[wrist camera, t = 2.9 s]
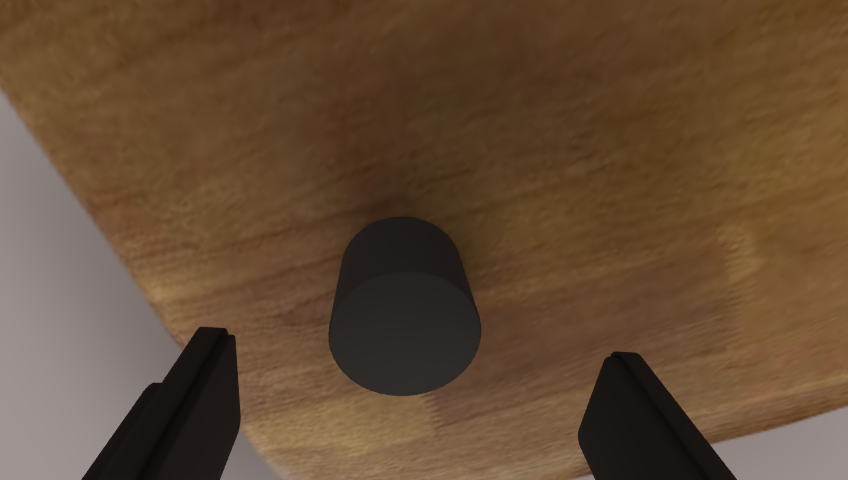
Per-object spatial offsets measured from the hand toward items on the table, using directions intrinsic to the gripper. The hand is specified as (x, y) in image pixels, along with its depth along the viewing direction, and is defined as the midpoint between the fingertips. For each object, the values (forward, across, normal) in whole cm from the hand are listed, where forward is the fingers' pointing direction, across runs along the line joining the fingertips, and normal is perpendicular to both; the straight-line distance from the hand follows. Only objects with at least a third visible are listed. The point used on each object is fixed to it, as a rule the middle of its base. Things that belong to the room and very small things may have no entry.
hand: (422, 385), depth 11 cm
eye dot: (+6, 0, 0) cm, 6 cm away
